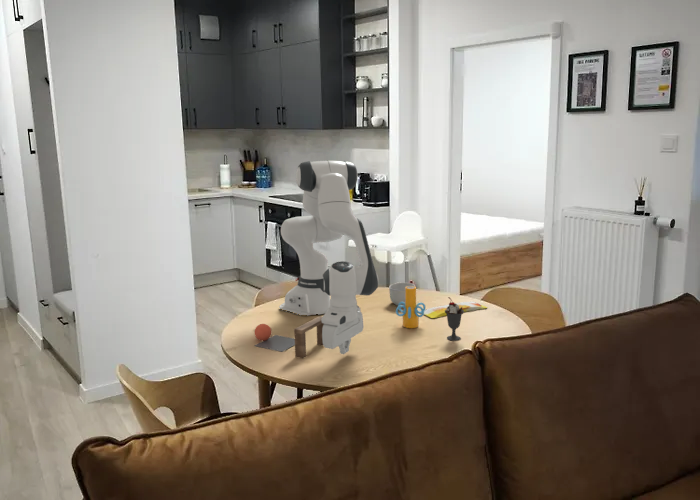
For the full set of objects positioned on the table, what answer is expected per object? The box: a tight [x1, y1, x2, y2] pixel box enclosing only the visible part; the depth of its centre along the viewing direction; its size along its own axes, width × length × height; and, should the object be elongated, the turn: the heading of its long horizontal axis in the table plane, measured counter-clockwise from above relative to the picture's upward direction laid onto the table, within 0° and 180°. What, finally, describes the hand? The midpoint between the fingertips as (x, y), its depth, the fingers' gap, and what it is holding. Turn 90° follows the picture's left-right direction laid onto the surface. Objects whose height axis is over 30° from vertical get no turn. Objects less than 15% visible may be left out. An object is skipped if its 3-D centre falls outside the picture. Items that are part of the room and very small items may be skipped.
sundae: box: [445, 297, 465, 342], centre depth 218 cm, size 7×7×15 cm
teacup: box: [388, 281, 416, 306], centre depth 262 cm, size 14×11×8 cm
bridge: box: [293, 315, 324, 359], centre depth 210 cm, size 3×15×10 cm, turn 149°
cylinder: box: [395, 285, 426, 329], centre depth 232 cm, size 12×10×15 cm
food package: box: [423, 300, 488, 319], centre depth 251 cm, size 27×2×10 cm
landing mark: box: [254, 334, 295, 353], centre depth 218 cm, size 12×12×1 cm
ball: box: [253, 323, 272, 342], centre depth 221 cm, size 6×6×6 cm
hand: (344, 352), depth 204 cm, fingers closed
